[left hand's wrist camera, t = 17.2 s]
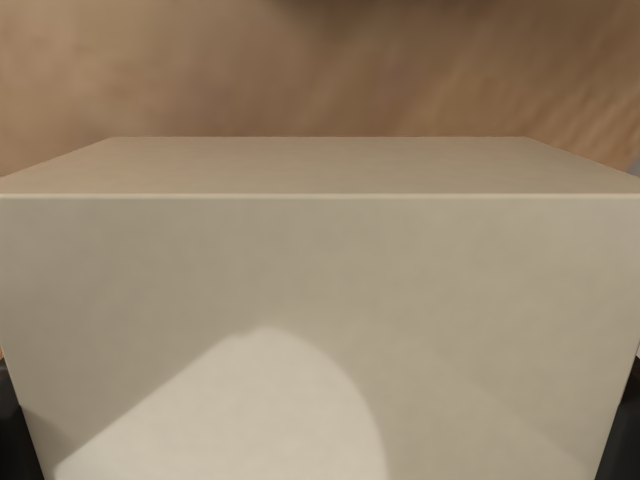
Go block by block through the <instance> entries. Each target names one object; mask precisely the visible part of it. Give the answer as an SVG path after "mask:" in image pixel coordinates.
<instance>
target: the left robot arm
mask: <svg viewBox="0 0 640 480" xmlns="http://www.w3.org/2000/svg"><path fill="white" fill-rule="evenodd" d="M0 480H45V479H44V476H43V473H42V470H41V467H40V464H39V461H38V457H37V454H36V451H35V448H34V445H33V442H32V439H31V436H30V433H29V430H28V427H27V424H26V420H25V417H24V414H23V411H22V408H21V405H19V402H18V399H17V396H16V393H15V390H14V387H13V384H12V381H11V378H10V375H9V372H8V369H7V365H6V362H5V359H4V357H3V358H2V359H1V360H0ZM594 480H640V359H639V358H638V357H637V356H635V359H634V363H633V366H632V369H631V372H630V375H629V378H628V381H627V384H626V387H625V390H624V393H623V396H622V400H621V403H620V405H618V408H617V411H616V414H615V417H614V421H613V424H612V427H611V430H610V433H609V436H608V439H607V442H606V445H605V448H604V451H603V455H602V458H601V461H600V464H599V467H598V470H597V473H596V476H595V479H594Z"/></svg>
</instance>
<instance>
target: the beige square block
mask: <svg viewBox="0 0 640 480" xmlns="http://www.w3.org/2000/svg"><path fill="white" fill-rule="evenodd" d="M639 344H640V178H638V177H636V176H633V175H630V174H627V173H625V172H622V171H619V170H617V169H614V168H611V167H608V166H606V165H603V164H600V163H597V162H595V161H592V160H589V159H586V158H584V157H581V156H578V155H575V154H572V153H570V152H567V151H564V150H561V149H559V148H556V147H553V146H550V145H548V144H545V143H542V142H539V141H537V140H534V139H531V138H528V137H111V138H108V139H105V140H103V141H100V142H97V143H94V144H92V145H89V146H86V147H83V148H81V149H78V150H75V151H72V152H70V153H67V154H64V155H61V156H59V157H56V158H53V159H50V160H48V161H45V162H42V163H39V164H37V165H34V166H31V167H28V168H26V169H23V170H20V171H17V172H15V173H12V174H9V175H6V176H4V177H1V178H0V347H1V350H2V353H3V356H4V359H5V362H6V365H7V369H8V372H9V375H10V378H11V381H12V384H13V387H14V390H15V393H16V396H17V399H18V402H19V405H21V408H22V411H23V414H24V417H25V420H26V424H27V427H28V430H29V433H30V436H31V439H32V442H33V445H34V448H35V451H36V454H37V457H38V461H39V464H40V467H41V470H42V473H43V476H44V479H45V480H594V479H595V476H596V473H597V470H598V467H599V464H600V461H601V458H602V455H603V451H604V448H605V445H606V442H607V439H608V436H609V433H610V430H611V427H612V424H613V421H614V417H615V414H616V411H617V408H618V405H620V403H621V400H622V396H623V393H624V390H625V387H626V384H627V381H628V378H629V375H630V372H631V369H632V366H633V363H634V359H635V356H636V353H637V350H638V347H639Z"/></svg>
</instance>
